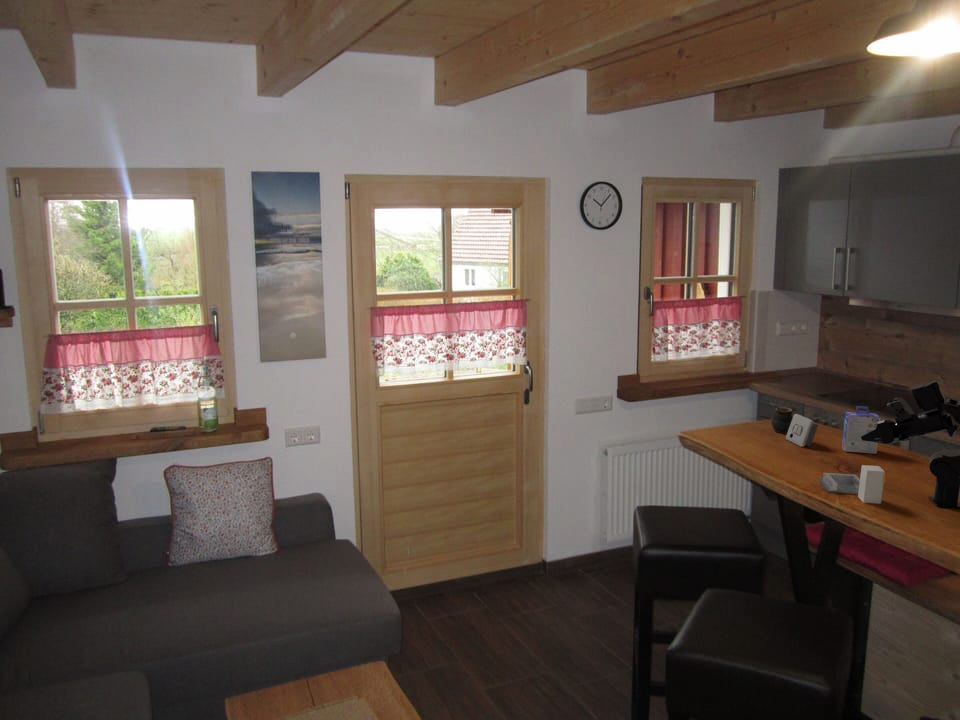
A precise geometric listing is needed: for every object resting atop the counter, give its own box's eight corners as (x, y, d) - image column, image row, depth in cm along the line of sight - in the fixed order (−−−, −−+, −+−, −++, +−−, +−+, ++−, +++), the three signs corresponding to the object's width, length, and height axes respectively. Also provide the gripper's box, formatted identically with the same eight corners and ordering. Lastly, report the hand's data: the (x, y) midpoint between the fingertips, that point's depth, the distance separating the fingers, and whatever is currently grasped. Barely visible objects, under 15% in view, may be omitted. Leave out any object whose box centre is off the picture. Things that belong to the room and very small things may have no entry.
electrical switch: (784, 439, 266) (789, 413, 265) (798, 440, 267) (803, 413, 266) (801, 448, 257) (807, 420, 256) (815, 448, 258) (820, 421, 257)
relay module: (882, 503, 210) (886, 471, 208) (863, 502, 210) (867, 470, 209) (876, 497, 214) (880, 466, 212) (857, 496, 215) (861, 465, 213)
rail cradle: (870, 495, 216) (871, 486, 215) (828, 492, 217) (828, 483, 217) (858, 482, 226) (859, 474, 225) (818, 479, 227) (818, 471, 227)
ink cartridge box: (872, 449, 257) (878, 406, 254) (877, 454, 252) (883, 410, 249) (840, 446, 259) (845, 404, 256) (844, 452, 254) (849, 408, 251)
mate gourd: (797, 432, 275) (800, 404, 272) (783, 435, 271) (786, 407, 269) (780, 427, 281) (782, 400, 278) (766, 430, 277) (768, 403, 275)
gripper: (928, 393, 218) (873, 408, 230) (902, 395, 206) (844, 411, 217) (942, 432, 216) (885, 446, 227) (916, 436, 203) (857, 450, 215)
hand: (868, 437), depth 221 cm, fingers open, 9 cm apart
